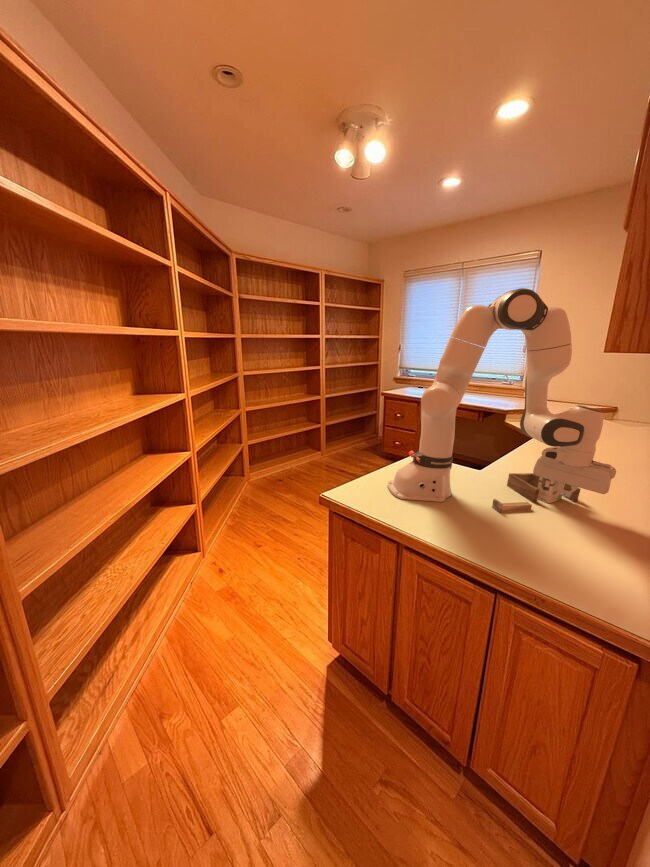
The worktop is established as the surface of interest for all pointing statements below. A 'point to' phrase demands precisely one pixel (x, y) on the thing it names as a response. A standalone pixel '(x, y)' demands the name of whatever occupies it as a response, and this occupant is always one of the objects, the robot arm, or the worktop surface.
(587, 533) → the worktop surface
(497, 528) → the worktop surface
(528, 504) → the beech bar
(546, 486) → the ink box
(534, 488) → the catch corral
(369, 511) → the worktop surface
